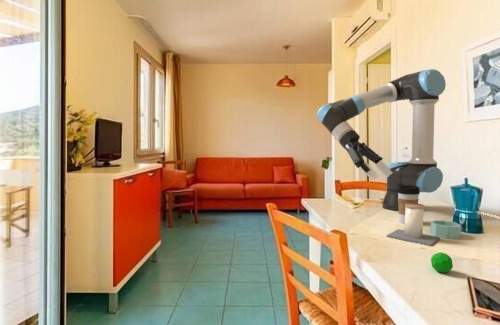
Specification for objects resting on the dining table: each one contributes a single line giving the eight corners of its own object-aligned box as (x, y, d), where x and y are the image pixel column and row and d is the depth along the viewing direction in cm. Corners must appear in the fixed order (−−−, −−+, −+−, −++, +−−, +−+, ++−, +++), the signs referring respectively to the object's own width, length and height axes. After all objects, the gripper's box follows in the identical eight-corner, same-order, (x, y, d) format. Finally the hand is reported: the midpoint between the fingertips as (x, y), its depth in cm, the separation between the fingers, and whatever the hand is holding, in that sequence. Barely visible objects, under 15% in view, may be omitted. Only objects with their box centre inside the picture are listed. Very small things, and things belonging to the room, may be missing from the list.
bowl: (434, 230, 124) (435, 219, 124) (462, 235, 118) (463, 223, 117) (427, 235, 117) (428, 223, 117) (456, 241, 111) (457, 228, 111)
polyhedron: (444, 276, 81) (445, 258, 81) (426, 269, 86) (426, 251, 86) (456, 273, 84) (457, 255, 83) (438, 266, 88) (439, 249, 88)
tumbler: (407, 232, 118) (408, 202, 117) (425, 236, 114) (426, 204, 113) (400, 235, 114) (402, 204, 113) (419, 239, 110) (421, 207, 109)
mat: (398, 230, 123) (398, 229, 123) (440, 238, 113) (440, 237, 113) (386, 236, 115) (386, 235, 115) (430, 246, 105) (430, 244, 105)
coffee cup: (421, 225, 130) (423, 188, 129) (398, 224, 132) (400, 187, 131) (415, 220, 138) (416, 185, 137) (393, 219, 140) (395, 184, 139)
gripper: (353, 142, 141) (388, 180, 132) (323, 142, 123) (361, 186, 114) (366, 129, 137) (402, 167, 128) (337, 128, 119) (376, 172, 110)
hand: (383, 176), depth 121 cm, fingers open, 13 cm apart
